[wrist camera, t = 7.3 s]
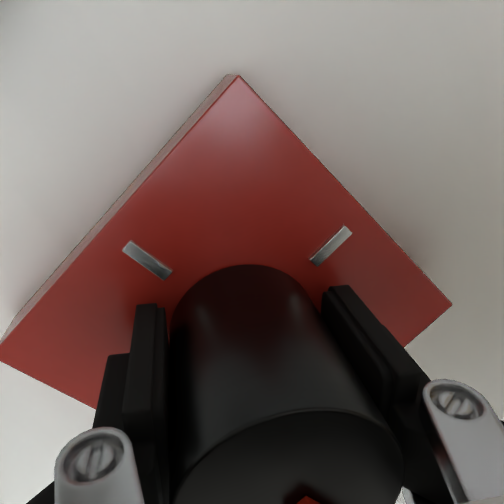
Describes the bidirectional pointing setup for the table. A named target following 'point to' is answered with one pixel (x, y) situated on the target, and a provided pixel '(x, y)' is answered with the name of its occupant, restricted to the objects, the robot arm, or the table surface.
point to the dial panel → (213, 243)
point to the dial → (269, 401)
